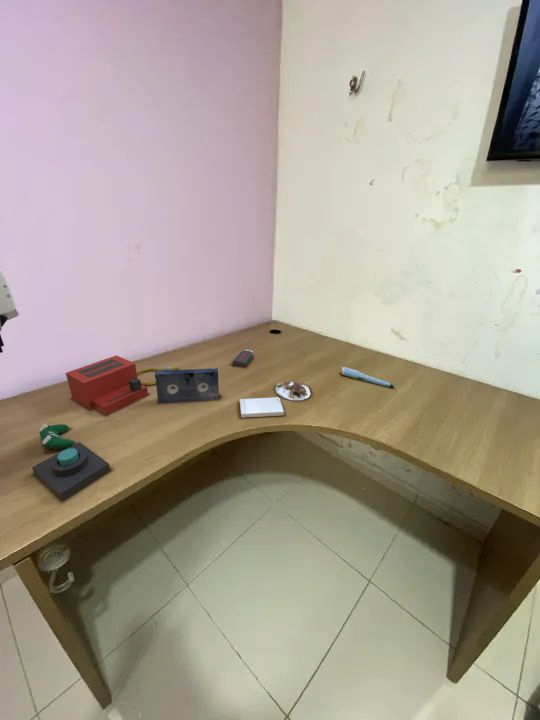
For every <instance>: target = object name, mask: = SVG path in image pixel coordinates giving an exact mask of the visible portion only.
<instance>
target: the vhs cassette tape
mask: <svg viewBox="0 0 540 720" xmlns="http://www.w3.org/2000/svg"><path fill="white" fill-rule="evenodd" d="M160 370H161V371H154V379H155V381H156V382H155V383H156V384H155V387H156V396H157V401H158V404H167V403H168V404H169V403H182V402H183V403H184V402H199V401H202V402H203V401H216V400H219V399H220V390H219V368H189V369H188V368H187V369H177V370H172V371H170V370H162V369H160Z"/></svg>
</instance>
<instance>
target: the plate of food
mask: <svg viewBox="0 0 540 720" xmlns="http://www.w3.org/2000/svg"><path fill="white" fill-rule="evenodd" d="M274 391H275V393H276V395H277V396H279V397H280V398H282V399H284V400H289V401H304V400H306V399H309V398H310V396H311V391H310V388H309V386H308V385H306V384H304V383H303V381H279V382H278V383H277V384H275V388H274Z"/></svg>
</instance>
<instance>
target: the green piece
mask: <svg viewBox="0 0 540 720" xmlns="http://www.w3.org/2000/svg"><path fill="white" fill-rule="evenodd" d="M68 430H70V429H69V425H67V424H64V423H59V424H58V423H57V424H52V425H49V424H46V423H44V424H43V425H42V426H41V427H40V428H39V431H38V432H39V436H40V440H41V444H42V445H43V447H45V448H47V449H50V450H51V449H52V450H61V449H62V450H63V449H67V448H69V447H71V446H73V445H75V441H74V440H73V439H69V438H61V437H60V434H63V433H66V432H67V431H68Z"/></svg>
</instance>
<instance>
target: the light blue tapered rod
mask: <svg viewBox="0 0 540 720" xmlns="http://www.w3.org/2000/svg"><path fill="white" fill-rule="evenodd" d="M342 375H343V376H345V377H348V378H352V379H354V380H359V381H363V382H368V383H371V384H374V385H379V386H383V387H387V388H395V385H394V384H392V383H390V382H388V381H385V380H382V379H379V378H376V377H373V376H370V375H367V374H365V373H363V372H360V371H359V370H356V369H353V368H349V367H346V366H342V367H341V376H342Z"/></svg>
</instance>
